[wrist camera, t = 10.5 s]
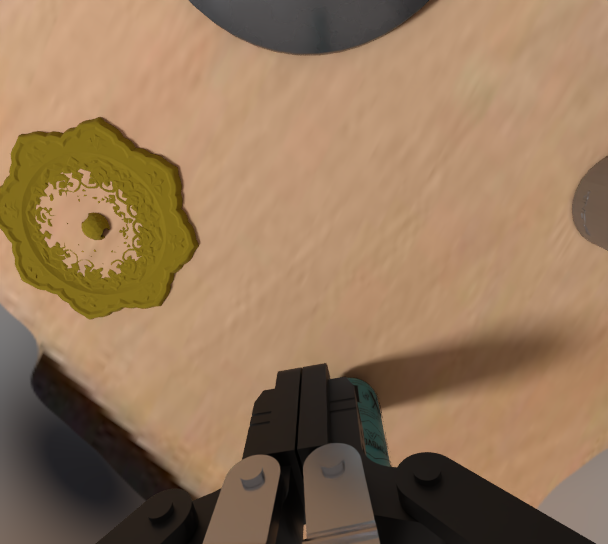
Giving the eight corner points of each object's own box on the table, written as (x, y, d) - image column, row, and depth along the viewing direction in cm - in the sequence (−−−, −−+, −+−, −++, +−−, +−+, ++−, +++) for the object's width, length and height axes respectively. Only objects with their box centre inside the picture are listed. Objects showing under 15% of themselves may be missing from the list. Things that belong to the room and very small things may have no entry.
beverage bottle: (371, 420, 51) (400, 600, 33) (313, 412, 51) (310, 587, 32) (382, 372, 49) (422, 535, 30) (322, 363, 49) (325, 521, 30)
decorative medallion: (-29, 249, 46) (-40, 253, 45) (44, 77, 40) (34, 76, 39) (139, 345, 49) (134, 351, 48) (230, 199, 44) (227, 202, 42)
